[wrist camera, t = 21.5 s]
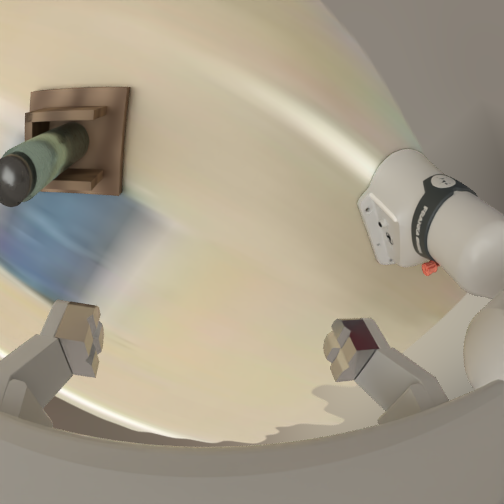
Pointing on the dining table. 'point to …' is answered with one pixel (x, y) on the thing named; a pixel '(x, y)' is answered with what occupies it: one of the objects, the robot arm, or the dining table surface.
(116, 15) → the dining table surface
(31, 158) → the flask
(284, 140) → the dining table surface
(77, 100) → the u rest
